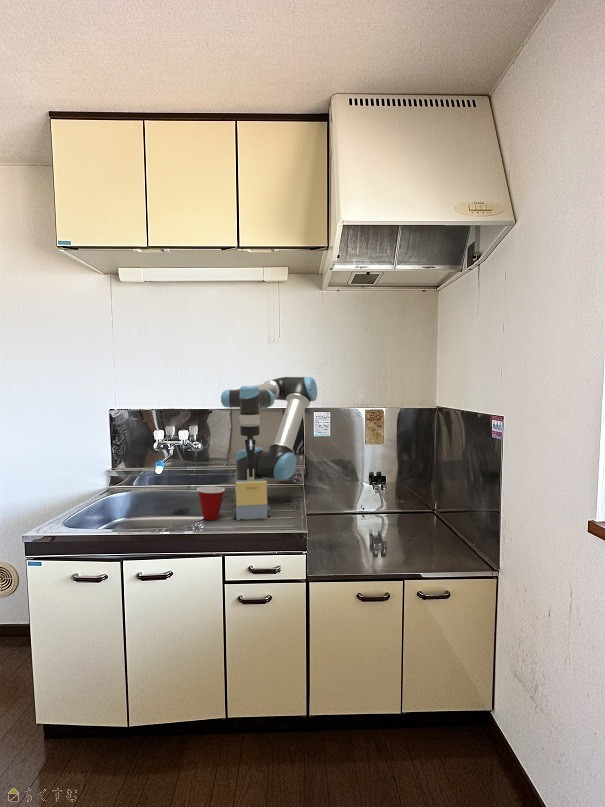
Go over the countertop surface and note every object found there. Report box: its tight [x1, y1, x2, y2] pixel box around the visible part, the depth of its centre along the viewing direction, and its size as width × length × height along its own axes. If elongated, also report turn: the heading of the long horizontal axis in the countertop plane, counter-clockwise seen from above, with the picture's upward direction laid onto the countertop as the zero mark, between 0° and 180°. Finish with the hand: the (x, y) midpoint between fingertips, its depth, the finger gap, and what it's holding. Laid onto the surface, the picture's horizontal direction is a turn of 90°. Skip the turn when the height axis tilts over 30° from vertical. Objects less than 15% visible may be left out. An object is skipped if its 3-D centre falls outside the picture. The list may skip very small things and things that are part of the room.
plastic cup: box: [196, 485, 226, 521], centre depth 185 cm, size 11×11×12 cm
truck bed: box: [232, 478, 271, 521], centre depth 190 cm, size 14×14×12 cm
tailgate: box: [236, 480, 268, 506], centre depth 181 cm, size 2×12×9 cm, turn 99°
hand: (250, 484), depth 186 cm, fingers closed
